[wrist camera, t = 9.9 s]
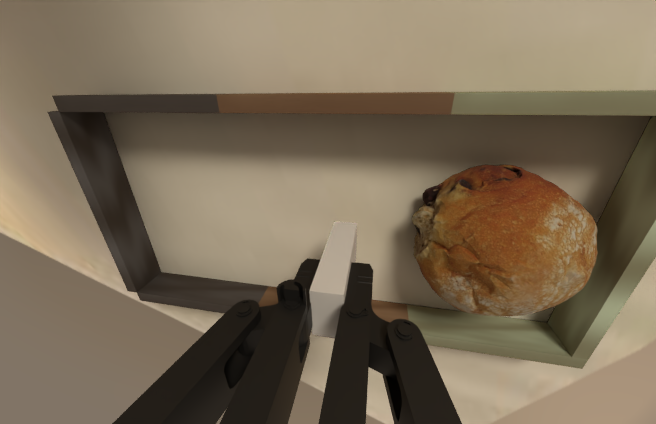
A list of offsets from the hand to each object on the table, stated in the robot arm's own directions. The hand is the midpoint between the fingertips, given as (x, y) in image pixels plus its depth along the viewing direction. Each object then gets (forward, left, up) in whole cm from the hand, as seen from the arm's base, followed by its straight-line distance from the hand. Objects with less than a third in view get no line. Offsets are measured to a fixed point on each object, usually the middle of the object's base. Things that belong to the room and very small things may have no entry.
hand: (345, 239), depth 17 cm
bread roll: (0, +9, -4) cm, 10 cm away
